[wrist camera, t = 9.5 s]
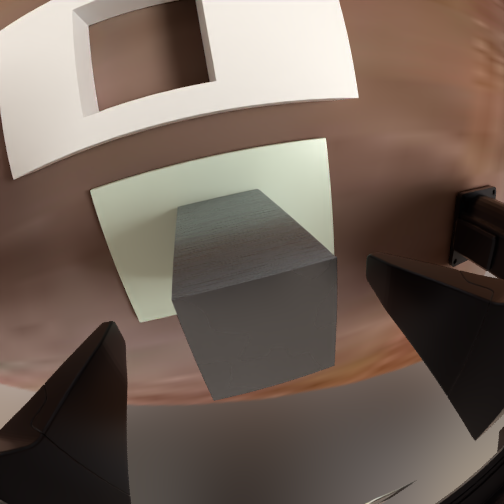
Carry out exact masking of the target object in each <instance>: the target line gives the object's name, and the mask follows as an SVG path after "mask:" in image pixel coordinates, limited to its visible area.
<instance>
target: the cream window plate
mask: <svg viewBox="0 0 504 504" xmlns="http://www.w3.org/2000/svg"><path fill="white" fill-rule="evenodd" d="M172 1H177V0H52V1H50V2H48V3H46V4H44V5H42V6H40V7H38V8H36V9H35V10H33V11H31V12H29V13H28V14H26V15H24V16H23V17H21V18H19V19H18V20H16V21H15V22H13V23H11V24H10V25H8V26H7V27H5V28H4V29H2V30H1V31H0V111H1V119H2V126H3V133H4V139H5V144H6V149H7V154H8V159H9V164H10V168H11V172H12V176H13V180H14V179H17V178H19V177H22V176H24V175H27V174H30V173H32V172H35V171H38V170H40V169H42V168H44V167H46V166H48V165H51V164H53V163H55V162H58V161H60V160H62V159H65V158H67V157H70V156H72V155H75V154H77V153H80V152H82V151H85V150H88V149H90V148H93V147H96V146H98V145H101V144H104V143H107V142H110V141H113V140H116V139H119V138H122V137H125V136H129V135H132V134H135V133H138V132H142V131H145V130H149V129H153V128H156V127H160V126H164V125H168V124H172V123H176V122H180V121H184V120H189V119H193V118H198V117H203V116H207V115H213V114H218V113H223V112H229V111H235V110H241V109H248V108H255V107H262V106H270V105H279V104H289V103H300V102H314V101H334V100H342V99H351V98H358V91H357V84H356V78H355V72H354V66H353V61H352V55H351V50H350V45H349V41H348V36H347V32H346V27H345V23H344V19H343V15H342V11H341V7H340V3H339V0H195V1H196V7H197V13H198V18H199V24H200V30H201V36H202V41H203V47H204V53H205V58H206V64H207V70H208V75H209V81H210V82H208V83H203V84H197V85H192V86H188V87H183V88H179V89H174V90H170V91H166V92H162V93H158V94H154V95H150V96H147V97H143V98H140V99H136V100H133V101H130V102H127V103H123V104H120V105H117V106H114V107H111V108H108V109H106V110H103V111H100V112H99V109H98V103H97V97H96V91H95V84H94V77H93V70H92V61H91V52H90V42H89V29H88V26H90V25H92V24H95V23H97V22H100V21H103V20H106V19H109V18H111V17H114V16H118V15H121V14H124V13H127V12H131V11H134V10H138V9H141V8H145V7H149V6H153V5H158V4H162V3H167V2H172Z"/></svg>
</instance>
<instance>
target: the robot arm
mask: <svg viewBox="0 0 504 504" xmlns="http://www.w3.org/2000/svg"><path fill="white" fill-rule="evenodd" d="M495 197H496V188H495V187H493V186H487V187H483V188H478V189H473V190H469V191H464V192H460V193H459V194H458V195H457V199H456V211H455V221H454V229H453V237H452V244H451V250H450V256H449V264H450V265H451V266H453V267H454V266H456V265H458V264H460V263H463V262H465V261H467V260H470V261H472V262H473V263H475V264H476V265H478V266H479V267H481V268H482V269H484V270H485V271H488V272H490V273H491V274H493V275H494V276H496V277H497V278H492V277H487V276H482V275H477V274H473V273H468V272H464V271H459V270H456V269H452V268H447V267H443V266H439V265H434V264H430V263H426V262H421V261H417V260H413V259H408V258H404V257H399V256H394V255H390V254H385V253H381V252H375V253H372V254H369V255H368V256H367V261H366V278H367V281H368V282H369V284H370V285H371V287H372V289H373V290H374V292H375V293H376V295H377V297H378V298H379V300H380V302H381V303H382V305H383V306H384V308H385V309H386V311H387V312H388V314H389V315H390V316H391V318H392V319H393V320H394V322H395V323H396V324H397V326H398V327H399V328H400V330H401V331H402V332H403V334H404V335H405V336H406V338H407V339H408V340H409V342H410V343H411V345H412V346H413V347H414V349H415V350H416V351H417V353H418V354H419V356H420V357H421V358H422V360H423V361H424V363H425V364H426V365H427V367H428V368H429V370H430V371H431V373H432V374H433V376H434V377H435V378H436V380H437V381H438V383H439V384H440V386H441V388H442V389H443V391H444V392H445V394H446V395H447V396H448V399H449V400H450V402H451V403H452V405H453V406H454V408H455V409H456V411H457V413H458V414H459V416H460V417H461V419H462V421H463V422H464V424H465V426H466V427H467V429H468V431H469V432H470V434H471V436H472V437H473V438H474V440H477V439H478V438H479V437H480V436H481V435H482V434H484V433H485V432H486V431H487V430H488V429H489V428H490V427H491V426H492V425H493V424H494V423H495V422H496V421H497V420H498V419H499V418H500V417H501V416H502V415H503V414H504V203H503V202H500V201H498V200H496V199H495ZM498 278H499V279H498ZM129 495H130V489H129V477H128V460H127V366H126V345H125V340H124V338H123V336H122V334H121V333H120V331H119V329H118V327H117V325H116V323H115V322H113V321H109V322H104V323H102V324H101V325H100V326H99V327H98V328H97V329H96V330H95V331H94V332H93V333H92V334H91V335H90V336H89V337H88V338H87V339H86V340H85V341H84V342H83V343H82V344H81V345H80V346H79V347H78V348H77V349H76V350H75V352H74V353H73V354H72V355H71V356H70V357H69V358H68V359H67V360H66V361H65V362H64V363H63V364H62V365H61V366H60V367H59V368H58V370H57V371H56V372H55V373H54V374H53V375H52V376H51V377H50V378H49V379H48V380H47V382H46V383H45V385H43V386H42V387H41V388H40V389H39V390H38V391H37V393H36V394H35V395H34V396H33V397H32V398H31V399H30V400H29V401H28V402H27V403H26V404H25V406H23V407H22V408H21V410H20V411H18V412H17V413H16V414H15V415H14V416H13V417H12V419H10V420H9V422H7V423H6V424H5V425H4V427H3V428H2V429H1V430H0V504H131V498H130V496H129ZM436 504H504V427H503V428H502V429H501V430H500V432H499V441H498V450H497V453H496V454H495V455H494V456H493V457H492V458H491V459H490V460H489V461H488V462H487V463H486V464H485V465H484V466H482V467H481V468H480V469H479V470H478V471H477V472H476V473H474V474H473V475H472V476H471V477H470V478H469V479H467V480H466V481H465V482H464V483H462V484H461V485H460V486H459V487H458V488H456V489H455V490H454V491H452V492H451V493H450V494H448V495H447V496H445V497H444V498H443V499H441V500H440V501H438V502H437V503H436Z"/></svg>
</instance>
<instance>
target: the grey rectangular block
mask: <svg viewBox="0 0 504 504" xmlns="http://www.w3.org/2000/svg"><path fill="white" fill-rule="evenodd" d="M171 300H172V303H173V305H174V308H175V311H176V313H177V316H178V319H179V321H180V324H181V326H182V329H183V331H184V334H185V336H186V339H187V341H188V344H189V346H190V349H191V351H192V353H193V356H194V358H195V360H196V363H197V365H198V367H199V370H200V372H201V374H202V376H203V379H204V381H205V383H206V385H207V387H208V389H209V392H210V394H211V396H212V398H213V400H219V399H223V398H228V397H232V396H236V395H240V394H244V393H248V392H252V391H256V390H260V389H263V388H267V387H270V386H274V385H277V384H281V383H284V382H287V381H290V380H294V379H297V378H300V377H303V376H306V375H309V374H312V373H315V372H318V371H320V370H323V369H326V368H329V367H331V366H334V362H335V345H336V320H337V257H336V256H334V255H333V254H332V253H331V252H330V251H329V250H328V249H327V248H326V247H325V246H323V245H322V244H321V243H320V242H319V241H318V240H317V239H316V238H315V237H313V236H312V235H311V234H310V233H309V232H308V231H307V230H306V229H304V228H303V227H302V226H301V225H300V224H299V223H298V222H296V221H295V220H294V219H293V218H292V217H291V216H290V215H288V214H287V213H286V212H285V211H284V210H283V209H281V208H280V207H279V206H278V205H277V204H276V203H274V202H273V201H272V200H271V199H270V198H269V197H267V196H266V195H265V194H264V193H263V192H261V191H260V190H259V189H254V190H249V191H245V192H240V193H235V194H230V195H226V196H221V197H217V198H213V199H208V200H204V201H200V202H195V203H191V204H187V205H183V206H179V207H178V208H177V219H176V230H175V243H174V257H173V275H172V298H171Z"/></svg>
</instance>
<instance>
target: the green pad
mask: <svg viewBox="0 0 504 504" xmlns="http://www.w3.org/2000/svg"><path fill="white" fill-rule="evenodd" d="M254 189H259V190H260V191H261V192H263V193H264V194H265V195H266V196H267V197H269V198H270V199H271V200H272V201H273V202H274V203H276V204H277V205H278V206H279V207H280V208H281V209H283V210H284V211H285V212H286V213H287V214H288V215H290V216H291V217H292V218H293V219H294V220H295V221H296V222H298V223H299V224H300V225H301V226H302V227H303V228H304V229H306V230H307V231H308V232H309V233H310V234H311V235H312V236H313V237H315V238H316V239H317V240H318V241H319V242H320V243H321V244H322V245H323V246H325V247H326V248H327V249H328V250H329V251H330V252H331V253H332V254H333V255H334V235H333V216H332V200H331V187H330V175H329V164H328V154H327V145H326V138H314V139H306V140H298V141H291V142H284V143H277V144H271V145H265V146H259V147H253V148H247V149H242V150H237V151H231V152H226V153H222V154H217V155H212V156H208V157H203V158H199V159H194V160H190V161H186V162H182V163H178V164H174V165H170V166H166V167H162V168H159V169H155V170H151V171H148V172H144V173H141V174H137V175H134V176H130V177H127V178H124V179H121V180H117V181H114V182H111V183H108V184H105V185H102V186H99V187H96V188H93V189H92V190H90V193H91V196H92V199H93V203H94V206H95V209H96V212H97V215H98V219H99V222H100V225H101V228H102V230H103V233H104V236H105V239H106V242H107V245H108V247H109V250H110V253H111V255H112V258H113V261H114V263H115V266H116V268H117V271H118V273H119V276H120V278H121V281H122V283H123V285H124V288H125V290H126V293H127V295H128V297H129V299H130V302H131V304H132V306H133V308H134V310H135V313H136V315H137V317H138V319H139V321H140V323H141V322H145V321H150V320H155V319H159V318H163V317H168V316H172V315H177V313H176V311H175V308H174V305H173V303H172V300H171V298H172V275H173V257H174V243H175V230H176V219H177V208H178V207H179V206H183V205H187V204H191V203H195V202H200V201H204V200H208V199H213V198H217V197H221V196H226V195H230V194H235V193H240V192H245V191H249V190H254Z"/></svg>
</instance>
